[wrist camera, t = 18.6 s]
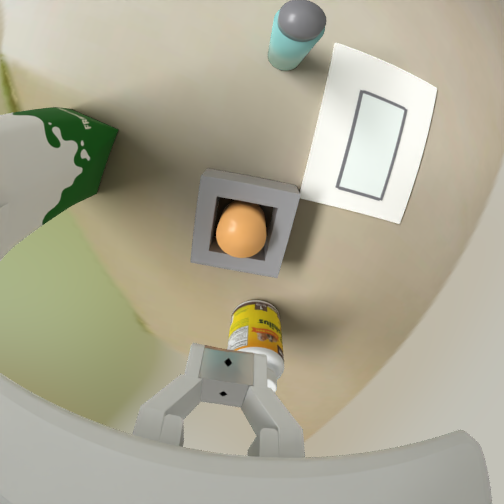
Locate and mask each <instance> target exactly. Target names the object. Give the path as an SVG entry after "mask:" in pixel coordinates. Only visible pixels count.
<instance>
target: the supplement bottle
mask: <svg viewBox="0 0 504 504" xmlns="http://www.w3.org/2000/svg"><path fill="white" fill-rule="evenodd" d="M229 349H230V350H237V351H244V352H252V353H257V354H265V355H266V356H267V384H268V388H271V389H272V390H273V391H274V393H275V391H276V389H277V379H279V378H280V376H281V375H282V373H283V371H284V358H283V345H282V333H281V322H280V315H279V313H278V311H277V309H276V308H275V307H274V306H273V305H271V304H270V303H268V302H265V301H261V300H250V301H246V302H244V303H241V304H240V305H239V306H237V307H236V308H235V310H234V311H233V313H232V317H231V324H230V332H229V340H228V349H227V350H229Z"/></svg>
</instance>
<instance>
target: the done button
mask: <svg viewBox="0 0 504 504" xmlns="http://www.w3.org/2000/svg"><path fill="white" fill-rule="evenodd" d="M216 239H217V242H218V244H219V246H220V248H221V249H222V250H223V251H224V252H225V253H227V254H228V255H230V256H233V257H237V258H247V257H251V256H253V255H255V254H257V253H258V252H259V251H260V250H261V249H262V248H263V246H264V244H265V241H266V222H265V215H264V212H263V210H262V209H261V207H260V206H259V205H258V204H255V203H250V202H245V201H240V200H235V201H233V202H231V203H230V204H228V205H227V206H226V207H225V209H224V210H223V213H222V215H221V218H220V221H219V224H218V227H217V231H216Z"/></svg>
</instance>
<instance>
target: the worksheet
mask: <svg viewBox="0 0 504 504" xmlns="http://www.w3.org/2000/svg"><path fill="white" fill-rule="evenodd" d="M436 92H437V88H436V87H434V86H432V85H431V84H429V83H427V82H425V81H424V80H422V79H420V78H418V77H416V76H414V75H412V74H410V73H409V72H407V71H405V70H403V69H400V68H398V67H396V66H394V65H392V64H390V63H388V62H385V61H383V60H381V59H379V58H376V57H374V56H371V55H369V54H366V53H364V52H361V51H359V50H356V49H353V48H351V47H348V46H345V45H342V44H339V43H334V48H333V53H332V58H331V63H330V67H329V72H328V77H327V81H326V86H325V90H324V94H323V99H322V103H321V108H320V112H319V116H318V120H317V125H316V129H315V133H314V137H313V141H312V145H311V149H310V153H309V157H308V161H307V165H306V169H305V173H304V177H303V181H302V185H301V189H300V194H301V195H300V198H301V199H305V200H309V201H314V202H318V203H322V204H326V205H330V206H334V207H338V208H342V209H346V210H350V211H354V212H358V213H362V214H365V215H369V216H373V217H376V218H380V219H384V220H387V221H391V222H394V223H397V224H400V222H401V219H402V216H403V214H404V211H405V208H406V205H407V202H408V199H409V197H410V194H411V191H412V187H413V184H414V181H415V178H416V175H417V172H418V168H419V165H420V161H421V158H422V154H423V151H424V147H425V143H426V139H427V135H428V131H429V127H430V122H431V118H432V113H433V108H434V103H435V98H436Z"/></svg>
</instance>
